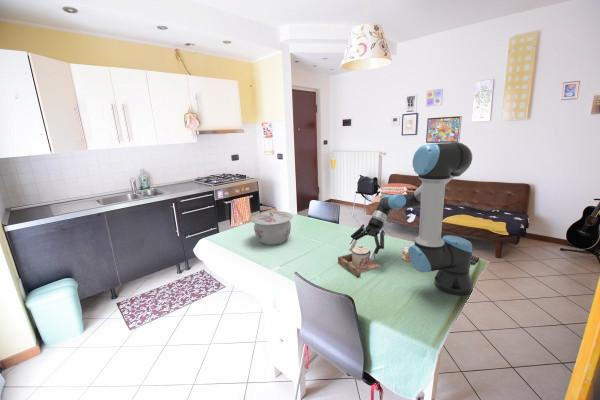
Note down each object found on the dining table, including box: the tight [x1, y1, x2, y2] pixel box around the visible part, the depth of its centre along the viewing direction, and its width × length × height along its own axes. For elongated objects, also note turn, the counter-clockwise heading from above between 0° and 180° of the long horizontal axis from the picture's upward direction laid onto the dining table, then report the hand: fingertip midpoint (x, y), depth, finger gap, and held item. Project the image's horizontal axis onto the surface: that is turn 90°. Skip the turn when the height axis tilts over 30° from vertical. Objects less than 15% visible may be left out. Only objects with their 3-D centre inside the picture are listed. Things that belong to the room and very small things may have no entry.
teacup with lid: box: [351, 244, 372, 269], centre depth 148 cm, size 12×9×12 cm
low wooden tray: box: [337, 252, 381, 278], centre depth 149 cm, size 18×17×4 cm
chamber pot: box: [250, 210, 293, 246], centre depth 185 cm, size 28×28×21 cm
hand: (359, 254), depth 147 cm, fingers open, 13 cm apart
